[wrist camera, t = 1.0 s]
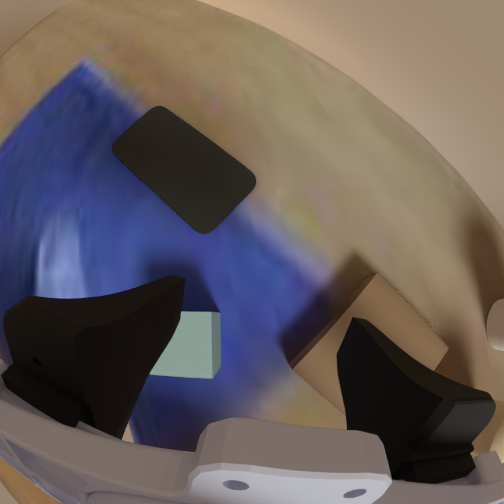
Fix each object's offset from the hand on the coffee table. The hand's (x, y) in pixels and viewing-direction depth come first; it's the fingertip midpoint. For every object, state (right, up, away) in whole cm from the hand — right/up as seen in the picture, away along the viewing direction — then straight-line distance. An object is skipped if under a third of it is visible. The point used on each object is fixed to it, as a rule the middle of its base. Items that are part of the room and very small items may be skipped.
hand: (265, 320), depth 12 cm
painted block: (-5, -4, +12) cm, 13 cm away
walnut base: (+10, -6, +11) cm, 16 cm away
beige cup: (+27, -5, +11) cm, 30 cm away
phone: (-8, +11, +15) cm, 21 cm away
